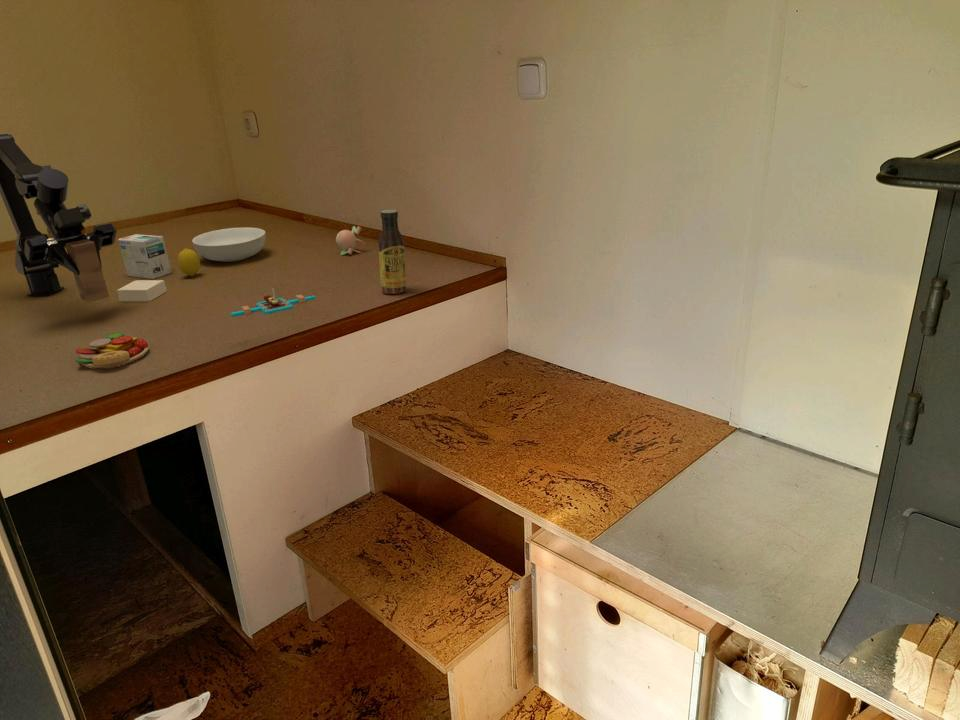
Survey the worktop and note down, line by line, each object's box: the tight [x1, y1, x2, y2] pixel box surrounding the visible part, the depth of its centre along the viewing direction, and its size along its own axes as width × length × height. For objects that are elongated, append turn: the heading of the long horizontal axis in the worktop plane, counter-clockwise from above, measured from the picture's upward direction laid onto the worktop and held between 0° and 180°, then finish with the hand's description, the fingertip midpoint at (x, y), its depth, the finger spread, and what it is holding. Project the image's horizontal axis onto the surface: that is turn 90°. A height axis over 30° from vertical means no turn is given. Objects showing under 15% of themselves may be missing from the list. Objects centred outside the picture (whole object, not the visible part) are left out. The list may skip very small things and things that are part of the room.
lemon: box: [177, 247, 201, 277], centre depth 190 cm, size 6×6×8 cm
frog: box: [335, 225, 366, 256], centre depth 206 cm, size 10×8×8 cm
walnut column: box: [65, 239, 110, 303], centre depth 157 cm, size 4×4×13 cm
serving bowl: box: [191, 227, 267, 263], centre depth 207 cm, size 21×21×7 cm
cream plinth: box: [116, 279, 167, 302], centre depth 176 cm, size 8×8×3 cm
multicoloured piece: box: [230, 288, 316, 317], centre depth 164 cm, size 20×5×9 cm
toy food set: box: [75, 332, 150, 369], centre depth 139 cm, size 13×13×3 cm
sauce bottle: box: [378, 209, 407, 295], centre depth 167 cm, size 6×6×20 cm
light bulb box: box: [117, 233, 172, 280], centre depth 193 cm, size 11×7×11 cm, turn 65°
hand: (89, 271), depth 157 cm, fingers closed on walnut column, 4 cm apart
